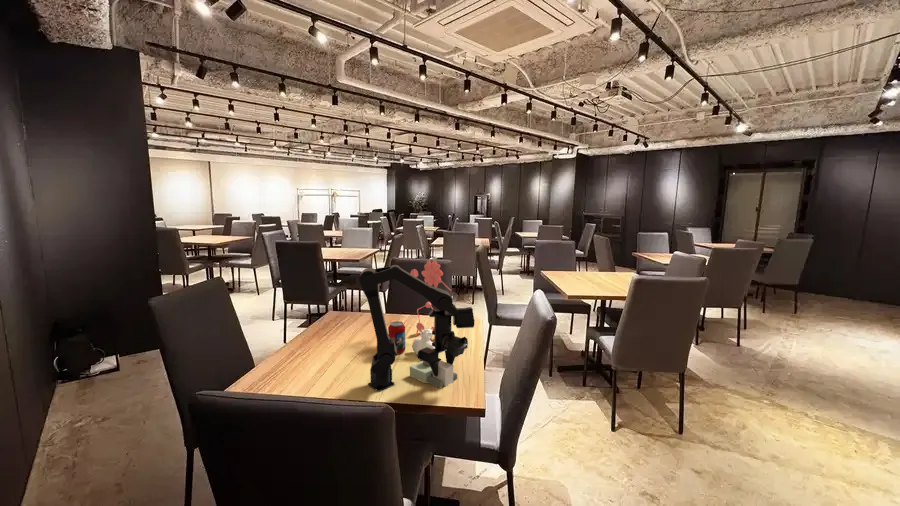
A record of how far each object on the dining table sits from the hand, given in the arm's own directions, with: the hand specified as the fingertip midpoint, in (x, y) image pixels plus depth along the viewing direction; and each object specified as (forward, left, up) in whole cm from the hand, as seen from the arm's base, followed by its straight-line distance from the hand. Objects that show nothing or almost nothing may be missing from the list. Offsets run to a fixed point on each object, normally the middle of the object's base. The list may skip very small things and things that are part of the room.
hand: (442, 372), depth 128 cm
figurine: (+30, +34, -3) cm, 46 cm away
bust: (+12, +21, -3) cm, 25 cm away
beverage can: (+6, +31, -3) cm, 32 cm away
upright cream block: (0, 0, -3) cm, 3 cm away
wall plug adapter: (0, +4, -3) cm, 5 cm away
